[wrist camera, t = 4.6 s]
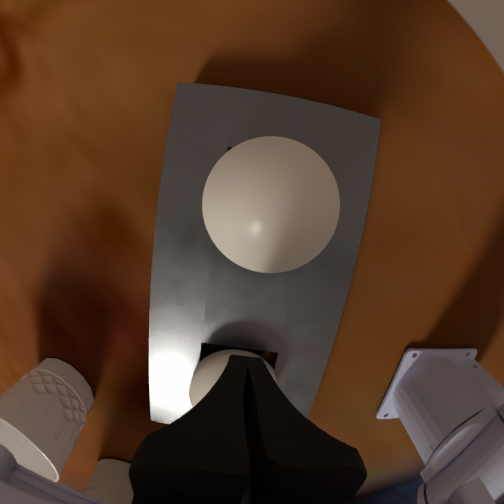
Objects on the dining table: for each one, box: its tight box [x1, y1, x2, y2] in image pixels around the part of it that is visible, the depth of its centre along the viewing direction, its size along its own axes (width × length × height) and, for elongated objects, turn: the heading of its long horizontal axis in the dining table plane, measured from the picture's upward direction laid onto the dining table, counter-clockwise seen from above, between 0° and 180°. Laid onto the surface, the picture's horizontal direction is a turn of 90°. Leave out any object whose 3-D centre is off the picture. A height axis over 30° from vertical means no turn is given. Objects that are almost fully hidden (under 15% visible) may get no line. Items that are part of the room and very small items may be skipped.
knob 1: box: [202, 136, 340, 273], centre depth 15 cm, size 6×6×5 cm
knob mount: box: [149, 82, 381, 424], centre depth 20 cm, size 12×24×3 cm, turn 171°
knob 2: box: [189, 345, 277, 407], centre depth 20 cm, size 6×6×5 cm
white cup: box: [0, 358, 94, 482], centre depth 19 cm, size 8×8×10 cm
